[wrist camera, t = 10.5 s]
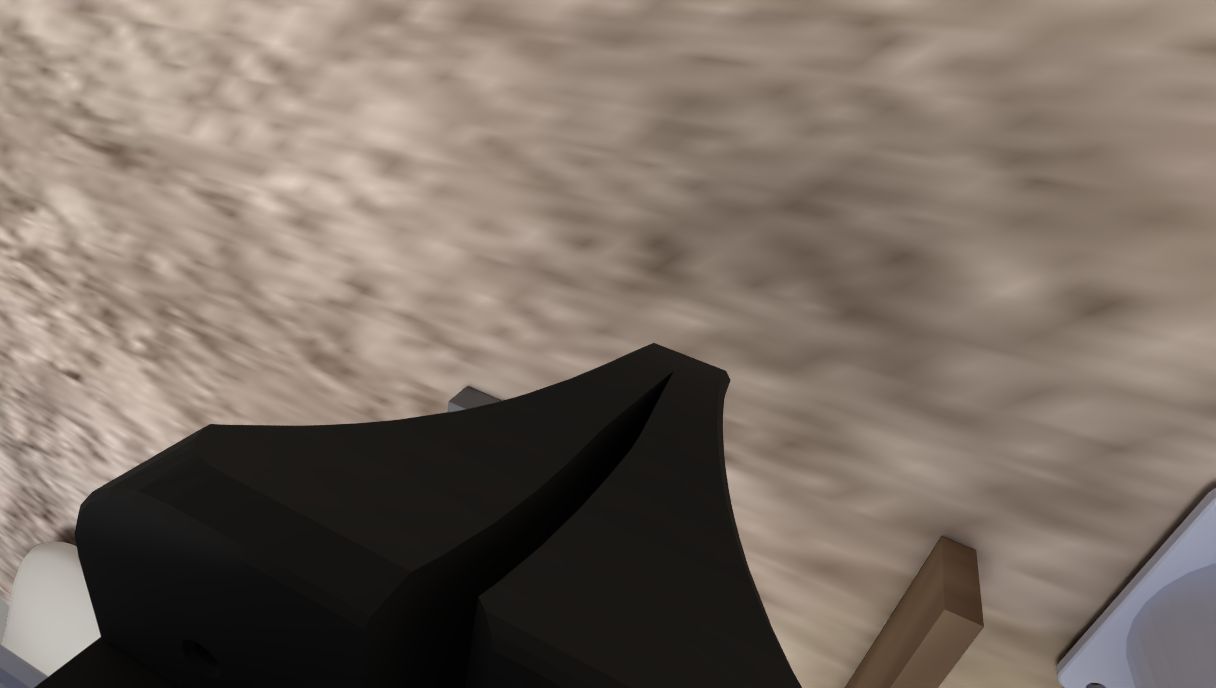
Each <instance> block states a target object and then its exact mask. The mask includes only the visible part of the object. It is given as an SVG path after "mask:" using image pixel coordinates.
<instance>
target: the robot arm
mask: <svg viewBox="0 0 1216 688" xmlns="http://www.w3.org/2000/svg"><path fill="white" fill-rule="evenodd" d="M729 383H730V378H729V376H728V374H727V372H726V371H725V370H722V369H720V368H717V367H715V366H712V365H709V364H707V363H704V362H702V361H699V360H696V359H694V358H691V357H689V356H686V355H684V354H681V353H678V352H676V351H673V350H671V349H668V348H666V347H663V346H660V345H658V344H655V343H653V344H650V345H648V346H645V347H643V348H641V349H638V350H636V351H634V352H631V353H629V354H627V355H625V356H623V357H620V358H618V359H616V360H614V361H611V362H609V363H607V364H605V365H602V366H600V367H598V368H595V369H593V370H591V371H588V372H586V373H583V374H581V375H578V376H576V377H574V378H571V379H569V380H566V381H563V382H560V383H557V384H554V385H551V386H548V387H546V388H543V389H540V390H537V391H534V392H531V393H528V394H525V395H522V396H518V397H515V398H511V399H507V400H504V401H500V402H496V403H491V404H487V405H483V406H478V407H474V408H470V409H465V410H460V411H454V412H447V413H441V414H434V415H427V416H421V417H414V418H407V419H400V420H392V421H381V422H369V423H357V424H338V425H314V426H270V425H218V424H210V425H208V426H206V427H204V428H202V429H200V430H199V431H197V432H195V433H193V434H192V435H190V436H188V437H186V438H185V439H183V440H181V441H179V442H178V443H176V444H174V445H173V446H171V447H169V448H167V449H166V450H164V451H162V452H160V453H159V454H157V455H155V456H154V457H152V458H150V459H148V460H147V461H145V462H143V463H141V464H140V465H138V466H136V467H135V468H133V469H131V470H129V471H128V472H126V473H124V474H122V475H121V476H119V477H117V478H116V479H114V480H112V481H110V482H109V483H107V484H105V485H103V486H102V487H100V488H98V489H97V490H95V491H93V492H92V493H91V494H90V495H89V496H88V497H87V498H86V500H85V501H84V502H83V503H82V504H81V506H80V510H79V514H78V519H77V524H76V530H75V539H76V545H77V551H78V557H79V561H80V564H81V568H82V571H83V575H84V578H85V582H86V585H87V589H88V593H89V596H90V600H91V603H92V607H93V610H94V614H95V617H96V621H97V624H98V628H99V632H100V635H101V637H100V638H98V639H97V640H96V641H95V642H93V643H92V644H91V645H89V646H88V647H87V648H85V649H84V650H83V651H81V652H80V653H79V654H77V655H76V656H75V657H74V658H72V659H71V660H70V661H68V662H67V663H66V664H64V665H63V666H62V667H60V668H59V669H58V670H56V671H55V672H54V673H53V674H51V675H50V676H49V677H48V676H47V675H45V674H44V673H42V672H41V671H39V670H38V669H36V668H35V667H33V666H32V665H31V664H29V663H28V662H26V661H25V660H23V659H22V658H20V657H19V656H17V655H16V654H14V653H13V652H11V651H10V650H8V649H7V648H5V647H4V646H2V645H1V644H0V688H802V687H801V685H800V683H799V682H798V680H797V678H796V676H795V675H794V673H793V671H792V669H791V667H790V665H789V663H788V660H787V658H786V656H785V654H784V652H783V650H782V648H781V646H780V644H779V641H778V639H777V637H776V635H775V633H774V631H773V629H772V627H771V624H770V621H769V619H768V616H767V614H766V611H765V609H764V606H763V604H762V601H761V599H760V596H759V593H758V591H757V588H756V586H755V583H754V581H753V578H752V576H751V573H750V570H749V567H748V564H747V561H746V558H745V554H744V551H743V548H742V545H741V541H740V538H739V534H738V530H737V526H736V522H735V518H734V514H733V510H732V505H731V500H730V494H729V489H728V482H727V475H726V468H725V459H724V444H723V407H724V398H725V394H726V391H727V388H728V385H729ZM1056 671H1057V676H1058V681H1059V683H1060V684H1061V685H1062V686H1063V687H1064V688H1216V488H1214V489H1213V490H1212V491H1210V492H1209V493H1208V494H1207V495H1206V496H1205V497H1204V498H1203V499H1202V501H1201V502H1200V503H1199V504H1198V505H1197V506H1196V507H1195V509H1194V510H1193V511H1192V512H1191V513H1190V514H1189V515H1188V517H1187V518H1186V519H1185V520H1184V521H1183V522H1182V523H1181V525H1180V526H1179V527H1178V528H1177V529H1176V530H1175V531H1174V532H1173V534H1172V535H1171V536H1170V537H1169V538H1168V539H1167V540H1166V542H1165V543H1164V544H1163V545H1162V546H1161V547H1160V548H1159V550H1158V551H1157V552H1156V553H1155V554H1154V555H1153V556H1152V558H1151V559H1150V560H1149V561H1148V562H1147V563H1146V564H1145V565H1144V567H1143V568H1142V569H1141V570H1140V571H1139V572H1138V573H1137V575H1136V576H1135V577H1134V578H1133V579H1132V580H1131V581H1130V583H1129V584H1128V585H1127V586H1126V587H1125V588H1124V589H1123V591H1122V592H1121V593H1120V594H1119V595H1118V596H1117V597H1116V598H1115V600H1114V601H1113V602H1112V603H1111V604H1110V605H1109V606H1108V608H1107V609H1106V610H1105V611H1104V612H1103V613H1102V614H1101V616H1100V617H1099V618H1098V619H1097V620H1096V621H1095V622H1094V624H1093V625H1092V626H1091V627H1090V628H1089V629H1088V630H1087V631H1086V633H1085V634H1084V635H1083V636H1082V637H1081V638H1080V639H1079V641H1078V642H1077V643H1076V644H1075V645H1074V646H1073V647H1072V649H1071V650H1070V651H1069V652H1068V653H1067V654H1066V655H1065V657H1064V658H1063V659H1062V660H1061V661H1060V662H1059V663H1058V665H1057V667H1056ZM1090 683H1099V684H1100V685H1091V684H1090Z"/></svg>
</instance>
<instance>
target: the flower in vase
mask: <svg viewBox="0 0 1216 688" xmlns="http://www.w3.org/2000/svg"><path fill="white" fill-rule="evenodd" d="M100 637H101V635H100V632H99V628H98V624H97V621H96V617H95V614H94V610H93V607H92V603H91V600H90V596H89V593H88V589H87V585H86V582H85V578H84V575H83V571H82V568H81V564H80V561H79V557H78V551H77V546H75V545H72V544H69V543H65V542H49V543H41V544H38V545H36V546H34V547H33V548H32V550H31V551H30V552H29V553H28V554H27V555H26V556H25V557H24V559H23V560H22V562H21V564H20V567H19V569H18V572H17V575H16V578H15V581H14V585H13V590H12V595H11V600H10V606H9V613H8V619H7V624H6V629H5V633H4V638H3V641H2V643H1V645H2V646H4V647H5V648H7V649H8V650H10V651H11V652H13V653H14V654H16V655H17V656H19V657H20V658H22V659H23V660H25V661H26V662H28V663H29V664H31V665H32V666H33V667H35V668H36V669H38V670H39V671H41V672H42V673H44V674H45V675H47V676H48V677H49V676H50V675H51V674H53V673H54V672H55V671H56V670H58V669H59V668H60V667H62V666H63V665H64V664H66V663H67V662H68V661H70V660H71V659H72V658H74V657H75V656H76V655H77V654H79V653H80V652H81V651H83V650H84V649H85V648H87V647H88V646H89V645H91V644H92V643H93V642H95V641H96V640H97V639H98V638H100Z"/></svg>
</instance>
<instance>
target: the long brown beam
mask: <svg viewBox="0 0 1216 688" xmlns="http://www.w3.org/2000/svg"><path fill="white" fill-rule="evenodd" d="M983 627H984V623H983V613H982V604H981V594H980V584H979V575H978V565H977V555H976V551H975V550H973V549H970V548H968V547H966V546H963V545H961V544H958V543H956V542H954V541H951V540H949V539H946V538H944V537H941V538H940V540H939V541H938V543H937V545H936V546H935V548H934V549H933V551H932V552H931V554H930V556H929V557H928V559H927V560H926V562H925V563H924V565H923V567H922V568H921V570H920V571H919V573H918V574H917V576H916V578H915V579H914V581H913V582H912V584H911V585H910V587H909V589H908V590H907V592H906V593H905V595H904V596H903V598H902V600H901V601H900V603H899V604H898V606H897V607H896V609H895V610H894V612H893V614H892V615H891V617H890V618H889V620H888V621H887V623H886V625H885V626H884V628H883V629H882V631H881V632H880V634H879V636H878V637H877V639H876V640H875V642H874V643H873V645H872V647H871V648H870V650H869V651H868V653H867V654H866V656H865V658H864V659H863V661H862V662H861V664H860V665H859V667H858V669H857V670H856V672H855V673H854V675H853V676H852V678H851V680H850V681H849V683H848V684H847V686H846V687H845V688H938V687H939V686H940V684H941V683H942V682H943V680H944V679H945V678H946V676H947V675H948V674H949V672H950V671H951V670H952V668H953V667H954V666H955V664H956V663H957V662H958V660H959V659H960V658H961V656H962V655H963V654H964V652H965V651H966V650H967V648H968V647H969V646H970V644H971V643H972V642H973V641H974V639H975V638H976V637H977V635H978V634H979V633H980V631H981V630H982V629H983Z"/></svg>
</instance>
